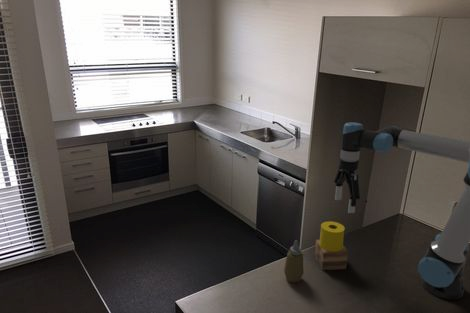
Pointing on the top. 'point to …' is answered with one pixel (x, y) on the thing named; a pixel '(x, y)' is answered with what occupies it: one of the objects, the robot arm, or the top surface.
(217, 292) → the top surface
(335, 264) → the tower block bottom
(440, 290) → the robot arm
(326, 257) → the tower block top
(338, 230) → the yellow toilet paper roll
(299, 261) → the squeeze bottle
